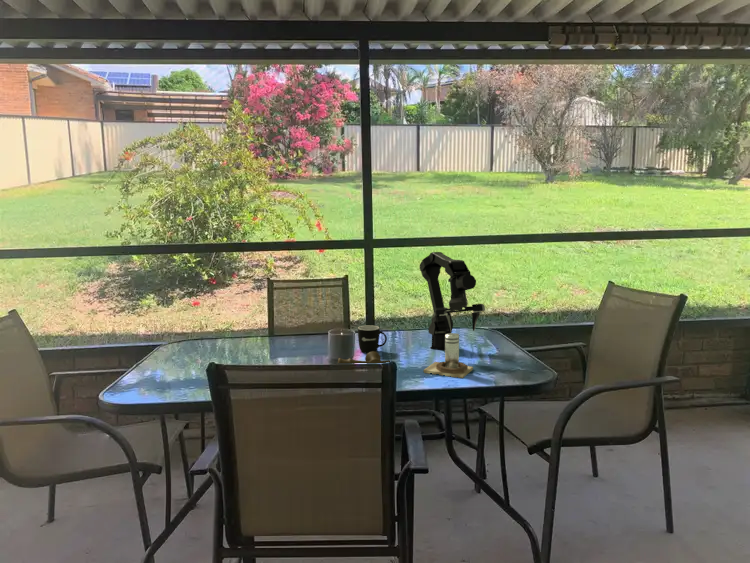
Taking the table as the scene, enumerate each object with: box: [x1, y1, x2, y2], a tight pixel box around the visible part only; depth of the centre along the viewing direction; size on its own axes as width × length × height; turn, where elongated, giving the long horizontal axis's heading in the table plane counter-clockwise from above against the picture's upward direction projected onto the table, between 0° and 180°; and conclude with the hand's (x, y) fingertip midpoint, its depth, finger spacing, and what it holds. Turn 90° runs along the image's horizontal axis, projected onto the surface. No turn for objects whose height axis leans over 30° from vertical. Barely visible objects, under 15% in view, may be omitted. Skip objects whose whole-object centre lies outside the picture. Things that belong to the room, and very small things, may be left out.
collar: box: [423, 361, 474, 379], centre depth 222 cm, size 15×12×2 cm
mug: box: [357, 324, 388, 354], centre depth 248 cm, size 12×9×10 cm
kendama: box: [337, 351, 391, 364], centre depth 223 cm, size 6×10×20 cm
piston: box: [444, 332, 460, 369], centre depth 220 cm, size 5×5×13 cm
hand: (462, 331), depth 234 cm, fingers open, 9 cm apart
